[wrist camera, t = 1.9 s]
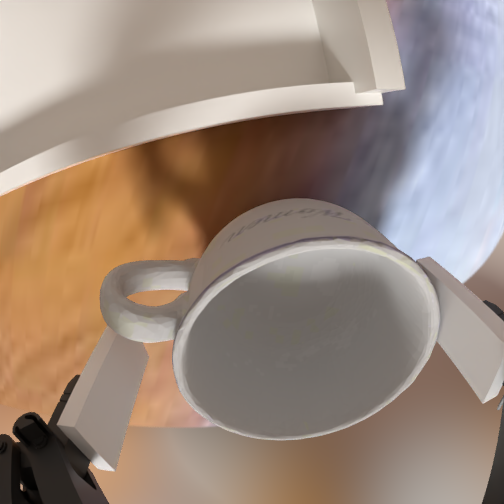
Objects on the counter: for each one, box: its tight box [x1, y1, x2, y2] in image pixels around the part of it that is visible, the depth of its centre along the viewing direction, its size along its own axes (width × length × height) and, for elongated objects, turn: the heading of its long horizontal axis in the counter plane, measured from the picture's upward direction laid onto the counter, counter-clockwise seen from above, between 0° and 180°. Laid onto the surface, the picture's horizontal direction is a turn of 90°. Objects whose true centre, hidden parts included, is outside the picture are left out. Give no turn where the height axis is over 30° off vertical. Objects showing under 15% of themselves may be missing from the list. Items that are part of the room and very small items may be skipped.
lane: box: [0, 0, 406, 196], centre depth 8 cm, size 33×20×6 cm, turn 100°
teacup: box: [100, 198, 440, 440], centre depth 14 cm, size 14×11×8 cm
